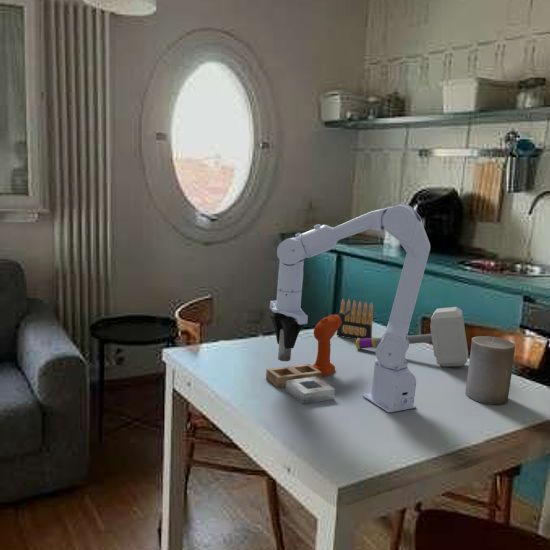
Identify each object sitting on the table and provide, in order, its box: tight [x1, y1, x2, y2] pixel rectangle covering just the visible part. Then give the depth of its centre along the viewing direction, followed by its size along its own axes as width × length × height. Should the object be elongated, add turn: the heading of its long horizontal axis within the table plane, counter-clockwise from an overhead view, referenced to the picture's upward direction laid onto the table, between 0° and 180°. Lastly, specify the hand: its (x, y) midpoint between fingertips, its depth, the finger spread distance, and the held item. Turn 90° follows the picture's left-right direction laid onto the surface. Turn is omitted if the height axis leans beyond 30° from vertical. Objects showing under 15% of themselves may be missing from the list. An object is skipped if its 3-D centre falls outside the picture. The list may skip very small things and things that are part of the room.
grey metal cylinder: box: [277, 327, 292, 362], centre depth 134 cm, size 3×3×8 cm
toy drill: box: [312, 309, 352, 377], centre depth 146 cm, size 5×19×15 cm, turn 148°
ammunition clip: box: [336, 298, 374, 340], centre depth 174 cm, size 11×2×12 cm, turn 69°
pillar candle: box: [465, 335, 516, 406], centre depth 133 cm, size 10×10×15 cm
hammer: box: [355, 306, 469, 368], centre depth 159 cm, size 15×8×30 cm
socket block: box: [285, 377, 336, 405], centre depth 128 cm, size 8×8×2 cm
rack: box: [265, 363, 323, 388], centre depth 136 cm, size 12×6×2 cm, turn 118°
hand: (285, 345), depth 134 cm, fingers closed on grey metal cylinder, 3 cm apart
